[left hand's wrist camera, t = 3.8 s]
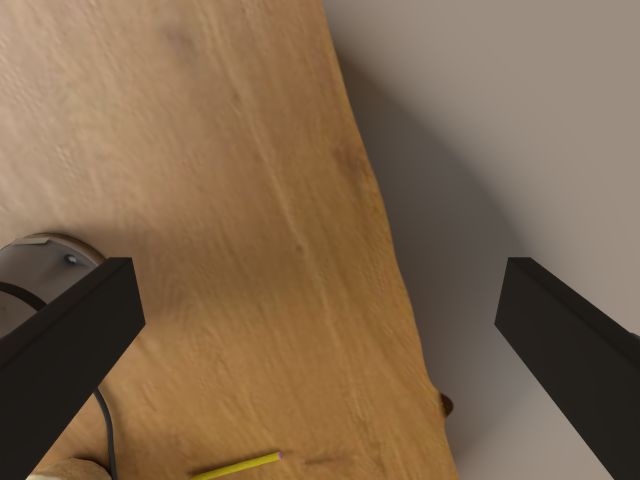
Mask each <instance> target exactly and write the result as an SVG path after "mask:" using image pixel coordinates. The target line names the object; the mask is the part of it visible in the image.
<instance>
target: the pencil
mask: <svg viewBox="0 0 640 480" xmlns="http://www.w3.org/2000/svg"><path fill="white" fill-rule="evenodd" d="M279 459H282V453H281V452H277V453H273V454H269V455H266V456H262V457H259V458H255V459H252V460H248V461H245V462H241V463H238V464H234V465H230V466H227V467H223V468H220V469H216V470H213V471H209V472H206V473H202V474H199V475H195V476H193V477H192V478H190V479H189V480H207V479H210V478H214V477H218V476H221V475H225V474H228V473H232V472H236V471H239V470H243V469H246V468H250V467H253V466H257V465H261V464H264V463H268V462H271V461H275V460H279Z"/></svg>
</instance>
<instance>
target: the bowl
mask: <svg viewBox="0 0 640 480" xmlns="http://www.w3.org/2000/svg"><path fill="white" fill-rule="evenodd" d="M26 480H112V478H111V476H110V475H109V474H108V473H107V472H106V470H105V469H104V468H103V467H101V466H99V465H98V464H96V463H95V462H92V461H87V460H81V459H77V458H70V459H65V460H61V461H57V462H54V463H52V464H50V465H47V466H45V467H43V468H41V469H39V470H38V471H36V472H33V473H31V474H30V475H29V476H28V477H27V479H26Z"/></svg>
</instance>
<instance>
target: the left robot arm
mask: <svg viewBox="0 0 640 480" xmlns="http://www.w3.org/2000/svg"><path fill="white" fill-rule="evenodd" d="M145 325H146V323H145V319H144V314H143V309H142V304H141V300H140V295H139V290H138V285H137V281H136V276H135V271H134V266H133V262H132V257H110V258H108V259H107V260H106V259H105V258H104V257H103V256H101V255H100V254H99V253H98V252H97V251H95V250H94V249H92V248H91V247H89V246H88V245H86V244H84V243H82V242H80V241H78V240H76V239H73V238H70V237H67V236H63V235H58V234H48V233H47V234H34V235H30V236H27V237H24V238H22V239H16V240H15V241H14V242H13V243H11V244H9V245H7V246H5V247H4V248H2V249H1V250H0V480H26V479H27V477H28V476H29V475H30V474H31V472H32V471H33V470H34V468H35V467H36V466H37V464H38V463H39V462H40V461H41V459H42V458H43V457H44V455H45V454H46V453H47V452H48V450H49V449H50V448H51V446H52V445H53V444H54V442H55V441H56V440H57V439H58V437H59V436H60V435H61V433H62V432H63V431H64V429H65V428H66V427H67V426H68V424H69V423H70V422H71V420H72V419H73V418H74V417H75V415H76V414H77V413H78V411H79V410H80V409H81V407H82V406H83V405H84V404H85V402H86V401H87V400H88V398H89V397H90V396H91V394H92V393H94V395H95V397H96V399H97V401H98V402H99V404H100V407H101V409H102V411H103V414H104V417H105V421H106V425H107V434H108V449H109V459H110V470H111V477H112V480H117V476H116V467H115V455H114V445H113V428H112V422H111V417H110V414H109V411H108V408H107V406H106V403H105V401H104V399H103V397H102V395H101V393H100V391H99V390H98V388H97V387H98V385H99V384H100V383H101V382H102V380H103V379H104V378H105V376H106V375H107V374H108V372H109V371H110V370H111V369H112V367H113V366H114V365H115V363H116V362H117V361H118V359H119V358H120V357H121V356H122V354H123V353H124V352H125V350H126V349H127V348H128V347H129V345H130V344H131V343H132V341H133V340H134V339H135V337H136V336H137V335H138V334H139V332H140V331H141V330H142V328H143V327H144V326H145ZM495 326H496V327H497V328H498V330H499V331H500V332H501V333H502V335H503V336H504V337H505V339H506V340H507V341H508V343H509V344H510V345H511V347H512V348H513V349H514V350H515V352H516V353H517V354H518V355H519V357H520V358H521V359H522V361H523V362H524V363H525V365H526V366H527V367H528V369H529V370H530V371H531V372H532V374H533V375H534V376H535V378H536V379H537V380H538V381H539V383H540V384H541V385H542V387H543V388H544V389H545V391H546V392H547V393H548V394H549V396H550V397H551V398H552V400H553V401H554V402H555V404H556V405H557V406H558V407H559V409H560V410H561V411H562V413H563V414H564V415H565V416H566V418H567V419H568V420H569V422H570V423H571V424H572V426H573V427H574V428H575V429H576V431H577V432H578V433H579V435H580V436H581V437H582V439H583V440H584V441H585V442H586V444H587V445H588V446H589V448H590V449H591V450H592V452H593V453H594V454H595V455H596V457H597V458H598V459H599V461H600V462H601V463H602V464H603V466H604V467H605V468H606V470H607V471H608V472H609V473H610V475H611V476H612V477H613V479H614V480H640V336H638V335H636V334H634V333H630V332H628V331H627V330H626V329H624V328H623V327H622V326H620V325H619V324H618V323H616V322H615V321H614V320H612V319H611V318H610V317H608V316H607V315H606V314H604V313H603V312H602V311H600V310H599V309H598V308H597V307H595V306H594V305H593V304H591V303H590V302H589V301H587V300H586V299H585V298H583V297H582V296H581V295H579V294H578V293H577V292H575V291H574V290H573V289H571V288H570V287H569V286H567V285H566V284H565V283H564V282H562V281H561V280H559V279H558V278H557V277H556V276H554V275H553V274H552V273H550V272H549V271H548V270H546V269H545V268H544V267H542V266H541V265H540V264H538V263H537V262H536V261H534V260H533V259H532V258H530V257H509V258H508V262H507V266H506V271H505V276H504V281H503V286H502V290H501V295H500V300H499V304H498V309H497V314H496V319H495Z"/></svg>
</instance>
